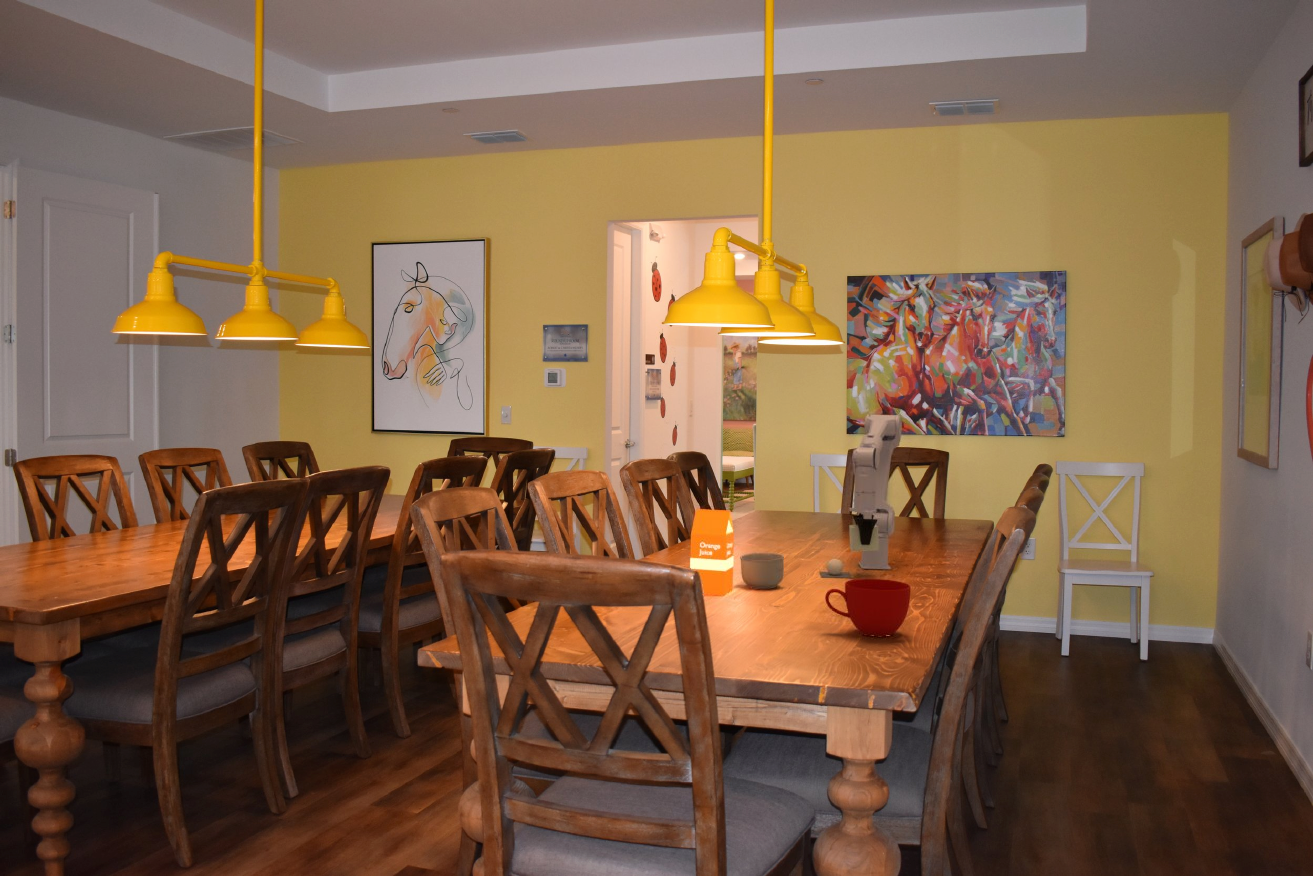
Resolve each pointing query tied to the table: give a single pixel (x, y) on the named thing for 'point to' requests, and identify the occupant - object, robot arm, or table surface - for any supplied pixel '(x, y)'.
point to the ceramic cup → (874, 605)
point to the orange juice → (713, 550)
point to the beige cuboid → (856, 543)
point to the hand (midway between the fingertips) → (864, 543)
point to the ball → (834, 567)
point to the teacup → (762, 569)
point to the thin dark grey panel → (841, 575)
